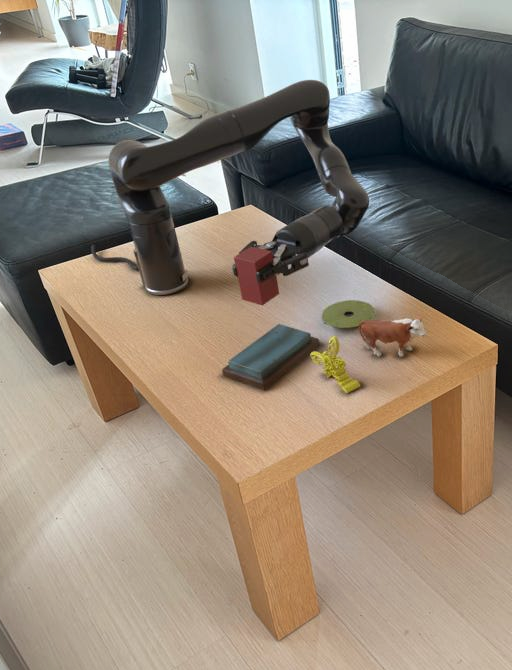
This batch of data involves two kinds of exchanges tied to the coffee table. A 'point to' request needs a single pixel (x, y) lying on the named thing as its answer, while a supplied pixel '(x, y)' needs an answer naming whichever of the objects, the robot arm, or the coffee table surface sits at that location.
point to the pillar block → (246, 273)
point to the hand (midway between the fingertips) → (246, 274)
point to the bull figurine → (391, 333)
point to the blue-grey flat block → (270, 356)
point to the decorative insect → (331, 368)
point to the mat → (348, 313)
